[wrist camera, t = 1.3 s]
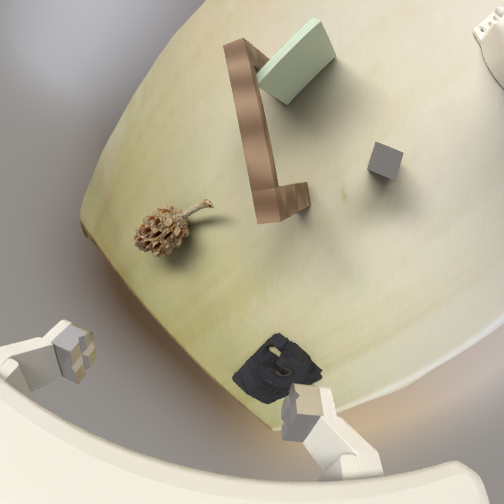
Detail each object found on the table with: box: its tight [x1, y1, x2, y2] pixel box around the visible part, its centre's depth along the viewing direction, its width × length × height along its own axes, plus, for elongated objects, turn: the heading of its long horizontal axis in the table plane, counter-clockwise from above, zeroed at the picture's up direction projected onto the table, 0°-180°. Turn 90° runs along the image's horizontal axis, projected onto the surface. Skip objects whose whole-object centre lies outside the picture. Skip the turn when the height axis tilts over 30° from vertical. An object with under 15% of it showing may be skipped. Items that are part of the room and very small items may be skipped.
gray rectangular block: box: [367, 142, 403, 181], centre depth 35 cm, size 4×4×9 cm
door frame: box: [223, 38, 311, 224], centre depth 37 cm, size 25×3×16 cm, turn 10°
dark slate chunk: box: [232, 333, 322, 404], centre depth 59 cm, size 15×22×5 cm
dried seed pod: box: [134, 199, 214, 258], centre depth 54 cm, size 22×10×10 cm, turn 122°
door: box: [256, 17, 336, 105], centre depth 34 cm, size 13×3×13 cm, turn 135°
